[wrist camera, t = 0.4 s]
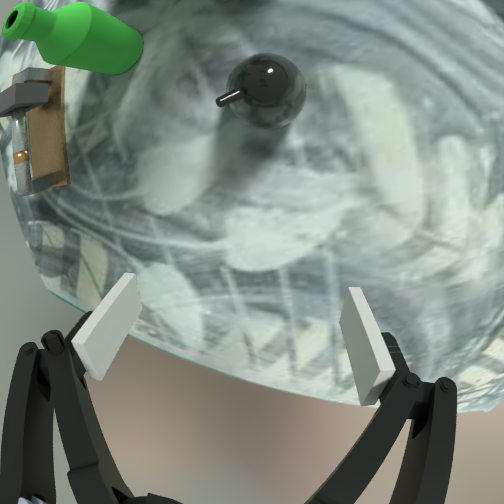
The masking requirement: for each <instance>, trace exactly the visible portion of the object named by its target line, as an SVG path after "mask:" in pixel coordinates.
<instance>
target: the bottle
mask: <svg viewBox="0 0 504 504" xmlns="http://www.w3.org/2000/svg"><path fill="white" fill-rule="evenodd" d="M2 34H3V37H5V38H7V39H10V40H12V41H15V40H17V39H23V40H30V41H35V42H36V45H37V47H38V50H39V52H40V54H41V56H42V58H43V60H44V61H45V62H47V63H49V64H53V65H60V66H66V67H72V68H78V69H84V70H89V71H94V72H99V73H104V74H109V75H117V74H120V73H123V72H125V71H126V70H128V69H129V68H131V67H132V66H133V65H134V64H135V62H136V61H137V60H138V59H139V57H140V55H141V53H142V49H143V39H142V36H141V34H140V33H139V32H138V31H137V30H135V29H134V28H132V27H130V26H129V25H127V24H125V23H124V22H122V21H120V20H118V19H117V18H115V17H113V16H111V15H109V14H108V13H106V12H104V11H102V10H100V9H98V8H96V7H94V6H92V5H90V4H88V3H84V2H76V3H72V4H69V5H66V6H64V7H61V8H59V9H56V10H54V11H52V12H51V11H48V10H45V9H41V8H38V7H35V6H34V3H31V2H26V3H20V4H18V5H16V6H15V7H14V8H13V9H12V11H11V12H10V13H9V15H8V17H7V18H6V20H5V22H4V26H3V30H2Z"/></svg>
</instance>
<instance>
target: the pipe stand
mask: <svg viewBox="0 0 504 504" xmlns="http://www.w3.org/2000/svg"><path fill="white" fill-rule="evenodd" d="M64 82H65V66H60V65H57V66H55V67H53V68H51V69H43V68H31V67H28V68H27V69H25V70H23V71H22V72H20V73H17V74H15V75H13V80H12V85H14V84H15V83H47V84H49V89H48V102H47V103H45V104H43V105H40V106H38V107H36V108H34V109H32V110H30V111H29V135H30V149H31V159H32V168H33V176H34V178H32V179H31V174H30V166H29V154H28V145H27V128H26V106H24V107H16V108H15V109H13V110H11V124H12V144H13V159H14V166H15V174H16V181H17V187H18V193H19V197H21V196H26V195H31V194H35V193H37V192H39V191H42V190H44V189H46V188H51V187H57V186H63V185H68V184H70V177H69V169H68V160H67V150H66V137H65V117H64Z"/></svg>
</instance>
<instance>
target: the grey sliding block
mask: <svg viewBox="0 0 504 504" xmlns="http://www.w3.org/2000/svg"><path fill="white" fill-rule="evenodd" d="M48 89H49V84H47V83H15V84H14V85H12V86H10V87H9V88H7V89H6V90H4V91H3V92H2V93H0V117H6V116H11V110H13V109H15V108H16V107H24V106H26V112H28V111H30V110H32V109H34V108H36V107H38V106H40V105H43V104H45V103H47V102H48Z"/></svg>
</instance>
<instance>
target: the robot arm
mask: <svg viewBox="0 0 504 504" xmlns="http://www.w3.org/2000/svg"><path fill="white" fill-rule="evenodd" d="M142 309H143V308H142V303H141V299H140V294H139V289H138V284H137V279H136V274H134V273H125V274H124V275H123V276H122V277H121V278H120V279H119V281H118V282H117V283H116V284H115V285H114V287H113V288H112V289H111V290H110V291H109V293H108V294H107V295H106V296H105V298H104V299H103V300H102V301H101V303H100V304H99V305H98V306H97V308H96V309H95V310H94V311H89V312H87V313H86V314H84V315H83V316H82V317H81V319H80V320H79V322H78V323H77V324H76V325H75V327H74V328H73V329H72V330H71V331H70V333H69V334H68V335H67V337H66V338H65V339H64V337H63V335H62V333H61V332H60V331H58V330H51V331H49V332H47V333H45V334H44V335H43V337H42V339H41V343H42V344H43V346H44V348H45V349H38V347H37V345H36V344H35V343H34V342H28V343H26V344H24V345H23V346H22V347H21V348H20V350H19V353H18V356H17V360H16V364H15V367H14V371H13V375H12V380H11V384H10V389H9V394H8V399H7V405H6V410H5V417H4V424H3V434H2V445H1V464H0V465H1V466H0V504H56V489H55V478H54V464H53V414H54V408H55V413H56V418H57V423H58V427H59V431H60V436H61V439H62V443H63V447H64V450H65V454H66V457H67V460H68V463H69V467H70V471H69V472H68V473H67V476H68V480H69V483H70V486H71V488H72V491H73V494H74V496H75V499H76V501H77V503H78V504H182V503H180V502H178V501H175V500H173V499H170V498H166V497H162V496H158V495H154V494H151V493H148V495H147V496H140V497H134V495H133V494H132V492H131V491H130V489H129V488H128V487H127V486H126V484H125V483H124V481H123V479H122V477H121V475H120V473H119V471H118V469H117V467H116V464H115V462H114V460H113V458H112V456H111V453H110V451H109V448H108V446H107V443H106V441H105V438H104V436H103V433H102V430H101V428H100V425H99V422H98V419H97V417H96V414H95V411H94V407H93V404H92V401H91V398H90V394H89V391H88V387H87V384H86V380H85V378H84V376H83V375H84V373H85V372H87V373H88V375H89V377H90V378H92V379H95V380H99V381H102V379H103V377H104V375H105V373H106V371H107V369H108V368H109V366H110V364H111V362H112V360H113V359H114V357H115V355H116V353H117V352H118V350H119V348H120V346H121V344H122V343H123V341H124V339H125V338H126V336H127V334H128V332H129V331H130V329H131V327H132V326H133V324H134V322H135V321H136V319H137V317H138V316H139V314H140V312H141V311H142ZM339 323H340V327H341V330H342V334H343V337H344V341H345V345H346V348H347V352H348V356H349V360H350V363H351V367H352V371H353V375H354V379H355V383H356V387H357V391H358V396H359V400H360V404H361V406H368V405H375V404H376V402H377V401H378V399H380V403H381V405H380V407H379V408H378V410H377V411H376V412H375V414H374V416H373V418H372V419H371V421H370V423H369V424H368V425H367V427H366V428H365V430H364V431H363V433H362V434H361V436H360V437H359V438H358V440H357V441H356V443H355V444H354V445H353V447H352V448H351V450H350V451H349V452H348V453H347V455H346V456H345V458H344V459H343V460H342V461H341V462H340V464H339V465H338V466H337V467H336V469H335V470H334V471H333V472H332V473H331V475H330V476H329V477H328V478H327V480H326V481H325V482H324V483H323V484H322V485H321V486H320V488H319V489H318V490H317V491H316V492H315V493H314V494H313V495H312V496H311V497H310V498H309V499H308V500H307V501H306V502H305V503H304V504H354V503H355V502H356V500H357V499H358V497H359V496H360V495H361V494H362V492H363V491H364V490H365V488H366V487H367V485H368V484H369V482H370V481H371V479H372V478H373V477H374V475H375V474H376V472H377V471H378V469H379V467H380V466H381V464H382V463H383V461H384V459H385V458H386V456H387V454H388V453H389V451H390V449H391V447H392V446H393V444H394V442H395V441H396V439H397V437H398V435H399V433H400V431H401V429H402V428H403V426H404V423H405V422H406V419H412V421H411V426H410V431H409V436H408V440H407V445H406V449H405V453H404V457H403V461H402V465H401V469H400V472H399V475H398V479H397V482H396V485H395V488H394V491H393V494H392V497H391V500H390V503H389V504H444V502H445V498H446V494H447V489H448V484H449V478H450V473H451V467H452V460H453V452H454V444H455V432H456V415H457V387H456V384H455V383H454V381H452V380H451V379H449V378H447V377H441V378H439V379H438V380H437V381H436V382H435V383H429V382H423V381H421V379H420V378H419V377H418V376H417V375H416V374H414V373H411V372H410V371H409V368H408V366H407V364H406V361H405V359H404V357H403V354H402V352H401V350H400V348H399V347H398V343H397V341H396V339H395V338H394V337H393V336H392V335H391V334H390V333H389V332H385V333H381V332H380V330H379V328H378V326H377V323H376V321H375V319H374V317H373V314H372V312H371V310H370V308H369V306H368V303H367V301H366V299H365V297H364V295H363V293H362V291H361V288H360V287H348V290H347V294H346V298H345V302H344V306H343V310H342V314H341V317H340V321H339Z"/></svg>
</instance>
